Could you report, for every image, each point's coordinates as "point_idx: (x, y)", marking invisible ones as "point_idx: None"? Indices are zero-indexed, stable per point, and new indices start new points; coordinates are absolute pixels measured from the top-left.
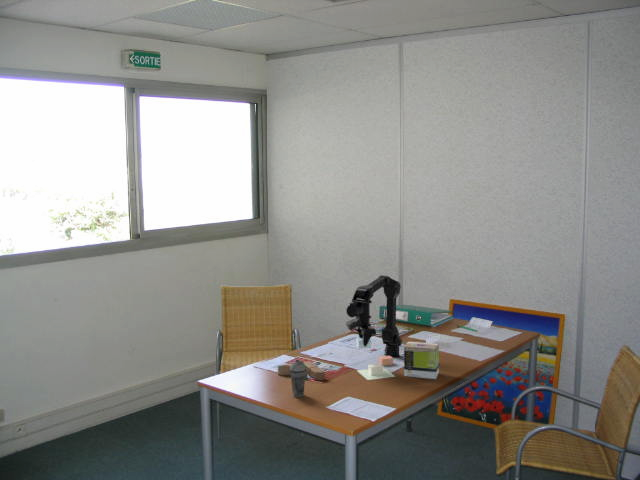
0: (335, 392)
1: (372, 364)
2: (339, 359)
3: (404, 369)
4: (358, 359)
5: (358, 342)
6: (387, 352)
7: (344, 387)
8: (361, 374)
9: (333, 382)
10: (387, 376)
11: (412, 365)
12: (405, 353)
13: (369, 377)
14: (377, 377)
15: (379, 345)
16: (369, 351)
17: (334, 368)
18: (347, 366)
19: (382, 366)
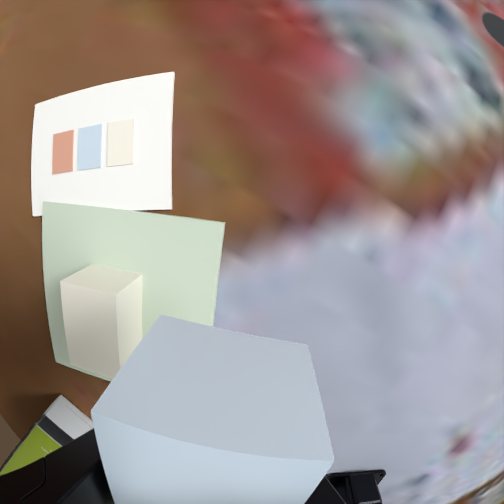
0: (26, 11)
1: (110, 325)
2: (489, 245)
3: (44, 413)
4: (428, 350)
5: (138, 383)
6: (351, 489)
7: (37, 51)
8: (129, 212)
9: (117, 8)
10: (60, 332)
11: (23, 437)
12: (2, 465)
13: (67, 233)
14: (56, 276)
15: (469, 466)
16: (462, 429)
17: (365, 107)
18: (361, 216)
19: (72, 358)
